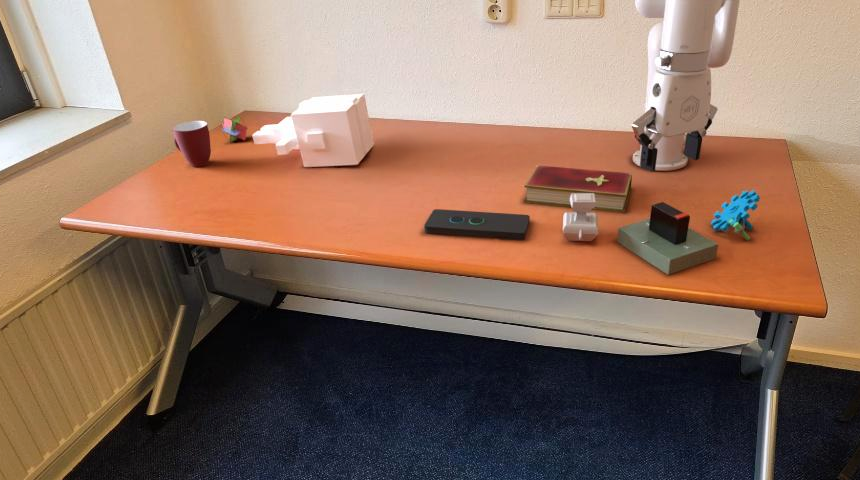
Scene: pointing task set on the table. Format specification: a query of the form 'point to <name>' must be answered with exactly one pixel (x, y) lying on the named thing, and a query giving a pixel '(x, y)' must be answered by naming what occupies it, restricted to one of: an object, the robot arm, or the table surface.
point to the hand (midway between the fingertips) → (669, 163)
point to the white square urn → (581, 218)
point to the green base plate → (666, 247)
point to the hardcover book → (578, 187)
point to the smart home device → (477, 224)
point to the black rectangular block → (669, 223)
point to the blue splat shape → (736, 213)
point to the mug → (193, 142)
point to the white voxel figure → (323, 131)
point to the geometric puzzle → (234, 129)
